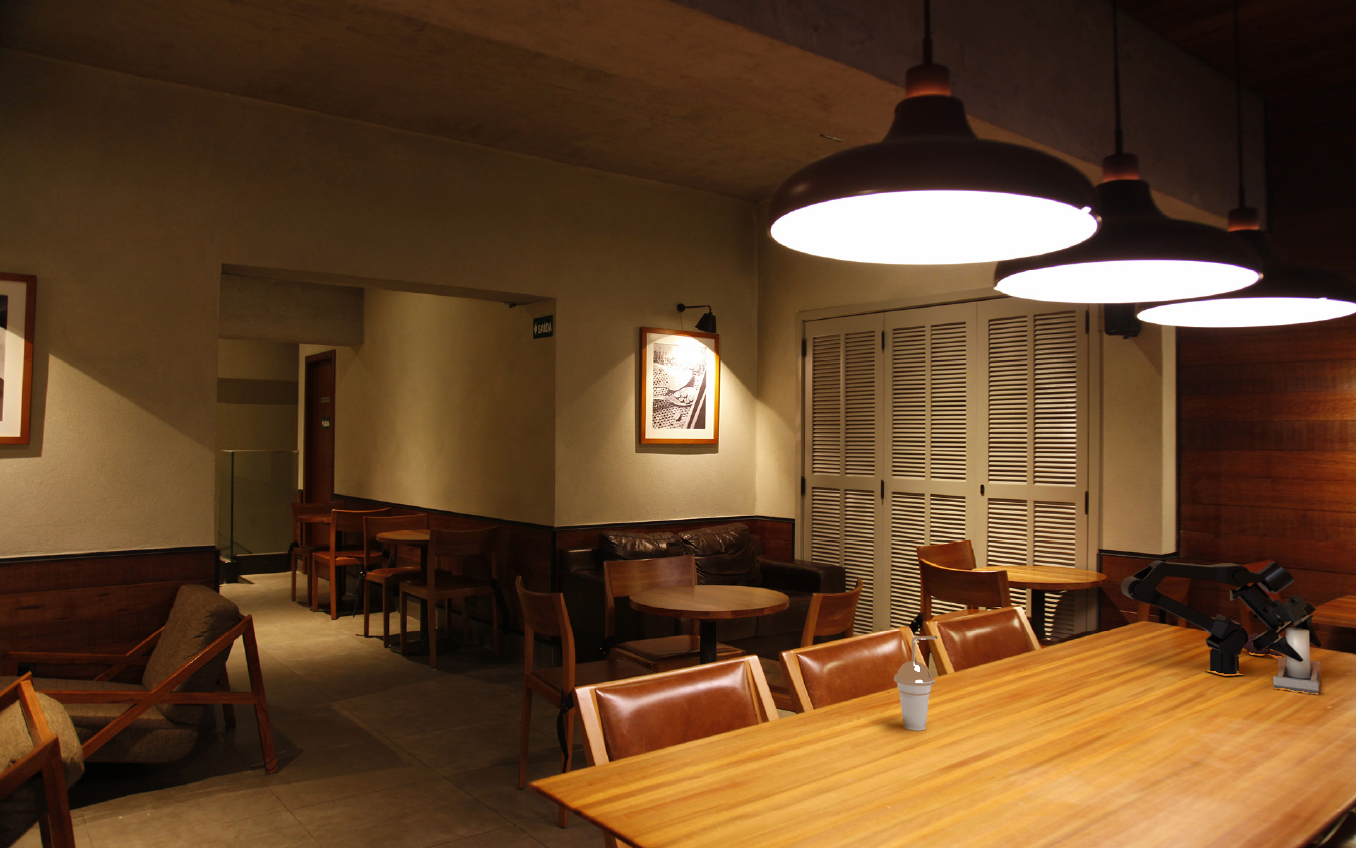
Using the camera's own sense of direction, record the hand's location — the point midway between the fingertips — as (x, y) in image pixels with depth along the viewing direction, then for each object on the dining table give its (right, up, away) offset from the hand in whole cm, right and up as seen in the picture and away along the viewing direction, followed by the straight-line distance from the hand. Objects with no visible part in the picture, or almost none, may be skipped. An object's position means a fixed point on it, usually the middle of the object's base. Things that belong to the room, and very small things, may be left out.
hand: (1311, 654), depth 222 cm
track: (-4, -7, -1) cm, 9 cm away
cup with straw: (-113, -5, -39) cm, 120 cm away
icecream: (+7, -9, +31) cm, 33 cm away
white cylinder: (-2, -6, +2) cm, 7 cm away
